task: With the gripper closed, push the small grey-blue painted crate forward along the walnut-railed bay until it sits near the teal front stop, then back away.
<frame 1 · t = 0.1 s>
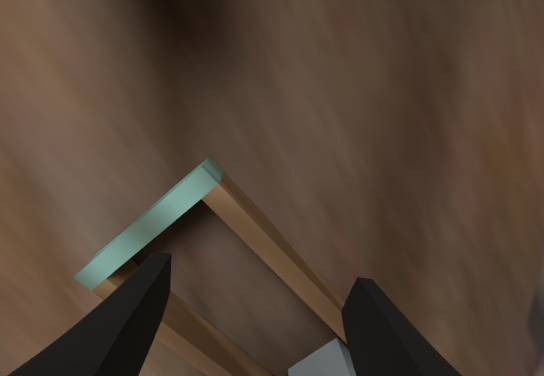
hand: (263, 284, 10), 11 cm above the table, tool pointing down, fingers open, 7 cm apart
crate: (329, 368, 27), resting in bay
bay: (272, 318, 24), on the table
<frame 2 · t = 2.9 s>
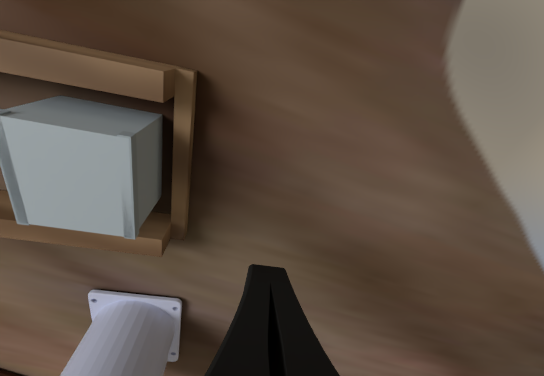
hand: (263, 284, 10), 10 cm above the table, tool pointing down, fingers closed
crate: (116, 149, 18), resting in bay
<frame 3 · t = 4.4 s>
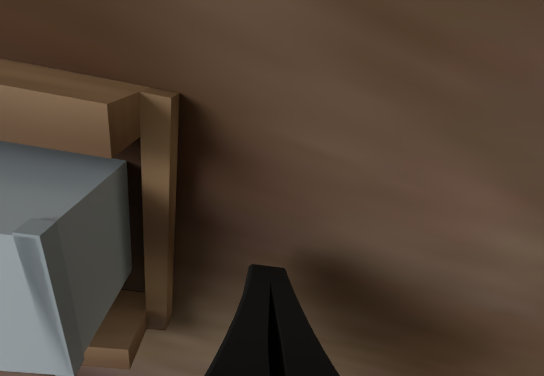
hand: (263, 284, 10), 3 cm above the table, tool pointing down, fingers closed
crate: (59, 209, 12), resting in bay
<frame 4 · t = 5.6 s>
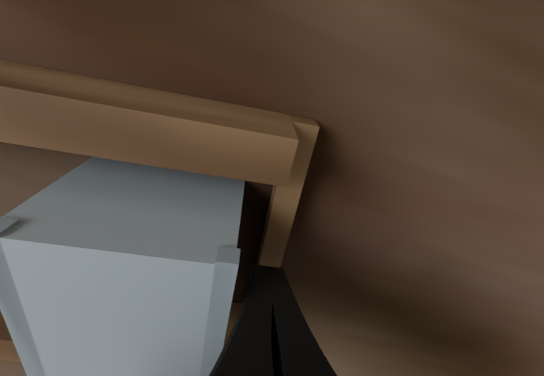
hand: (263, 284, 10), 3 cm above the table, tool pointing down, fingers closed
crate: (170, 227, 12), resting in bay, touching gripper
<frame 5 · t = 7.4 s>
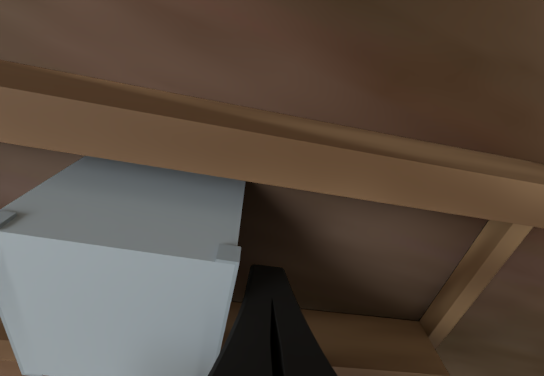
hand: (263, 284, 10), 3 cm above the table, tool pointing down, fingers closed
crate: (169, 224, 12), resting in bay, touching gripper
bay: (206, 232, 13), on the table
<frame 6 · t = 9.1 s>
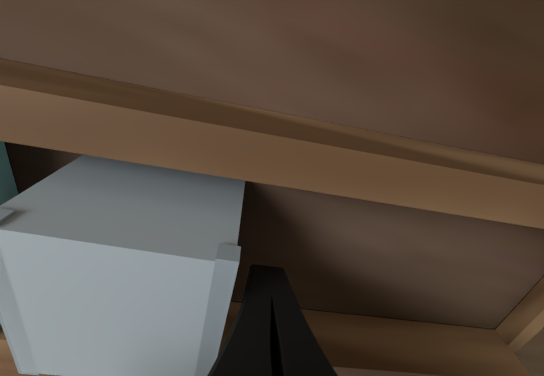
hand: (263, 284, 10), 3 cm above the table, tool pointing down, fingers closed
crate: (168, 223, 12), resting in bay, touching gripper
bay: (313, 246, 13), on the table
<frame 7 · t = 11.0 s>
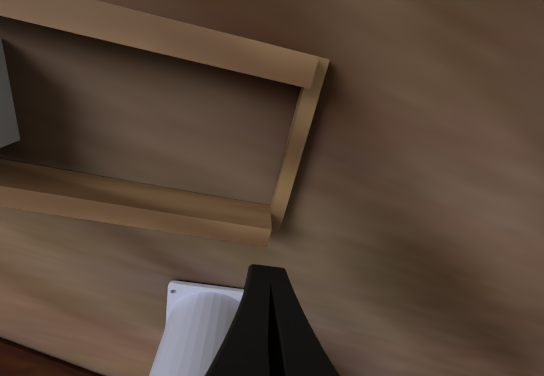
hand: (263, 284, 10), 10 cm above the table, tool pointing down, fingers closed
bay: (80, 109, 17), on the table
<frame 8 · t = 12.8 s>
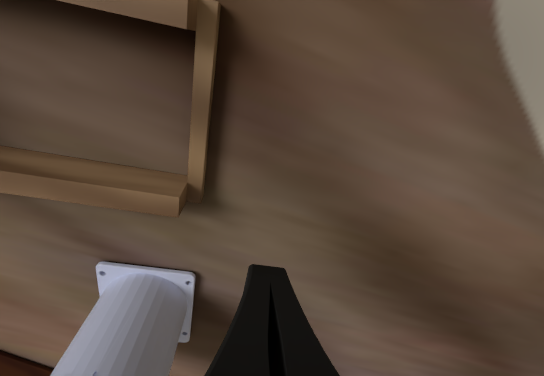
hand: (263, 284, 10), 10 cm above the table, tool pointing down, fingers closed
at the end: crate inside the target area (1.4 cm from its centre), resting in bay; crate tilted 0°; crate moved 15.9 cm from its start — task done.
